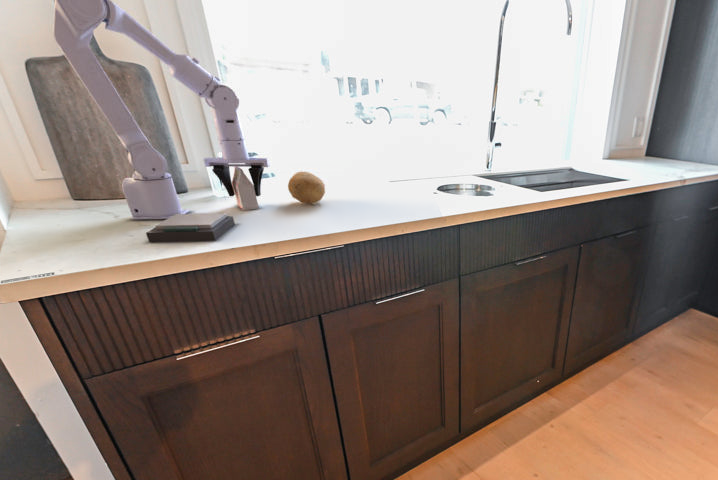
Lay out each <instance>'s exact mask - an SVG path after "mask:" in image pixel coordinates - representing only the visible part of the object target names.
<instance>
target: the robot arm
mask: <svg viewBox="0 0 718 480" xmlns="http://www.w3.org/2000/svg"><path fill="white" fill-rule="evenodd" d="M101 23H105V26H104V29H105V30H108V31H111V32H115V33H119V34H122V35H125V36H127V37H128V38H129V39H130V40H131V41H133V42H135V43H136V44H137V45H139V46H140V47H142V48H143V49H144V50H146V51H147V52H149V53H150V54H151V55H153V56H154V57H155V58H157V59H158V60H160V61H161V62H162V63H164V64H165V65H166V66H167V67H168V69H169V72H170V75H171V77H172V78H174V79H176V80H177V81H178V82H180V83H181V84H182V85H184V86H185V87H186V88H187V89H189V90H190V91H192V92H193V93H194V94H196V96H198V97H200V98H204V101H205V103H206V104H207V105H208V107H210V110H211V115H212V117H213V124H214V127H215V131H216V135H217V139H218V143H219V147H220V150H221V151H220V152H221V154H222V156H221V157H204V158H203V162H204V166H205V167H206V168H209V167H212V170H211V171H212V172H213V174H214V175H215V176H216V177H217V179H219V181H220V182H221V184H222V185H223V186H224V188H225V190H226V192H227V194H228V196H229V197H234V196H235V193H234V189H233V185H232V178H231V171H230V167H232V168H233V167H234V168H235V167H239V168H241V167H246V168H248V172H249V176H250V178H251V181H252V184H253V185H254V190H255V194H256V197H260V196H261V195H262V193H261V186H262V178H263V174H264V170H265V168H269V167H271V165H270V160H269V158H265V157H250V156H249V152H248V148H247V144H246V139H245V134H244V131H243V126H242V121H241V119H240V115H239V111H238V108H239V107H240V98H238V96H237V95H236V93H235V91H234V90H233V89H232V88H231V87H229V86H227V85H224V84H220V83H221V79H220V77H218V76H214V75H213V74H211V73H210V72H209V71H208V70H206V69H205V68H204V67H202V66H201V65H200V61H199V60H198V59H197V58H195V57H190V56H189V55H188V54H177V53H176V52H174V51H173V50H172V49H171V48H170V47H168V46H167V45H166V44H165V43H163V41H162V40H160V39H159V38H158V37H157V36H156V35H154V34H153V33H152V32H151V31H150V30H148V29H147V28H146V27H145V26H143V25H142V24H141V23H140V22H139V21H137V20H136V19H135V18H134V17H133V16H131V15H130V14H129V13H127V12H126V11H125V10H124V9H123V8H122V7H120V6H119V5H117V4H116V3H114V2H113V0H54V17H53V39H54V41H55V43H56V45H57V46H58V47H59V49H60V51H61V52H62V54H63V55H64V57H65V58H66V60H67V61H68V63H69V65H70V66H71V67H72V69H73V70H74V72H75V74H76V75H77V76H78V78H79V80H80V82H81V83H82V84H83V86H84V87H85V88H86V90H87V92H88V94H89V95H90V96H91V98H92V99H93V101H94V103H95V104H96V105H97V107H98V109H99V111H100V112H101V113H102V115H103V116H104V117H105V119H106V121H107V122H108V124H109V125H110V127H111V128H112V130H113V131H114V134H116V136H117V138H118V139H119V141H120V143H121V144H122V145H123V147H124V148H125V152H126V159H127V161H128V163H129V165H130V166H131V167H132V168H133V169H134V172H133V174H132V175H131V177H126V178H124V179H123V180H122V183H121V186H122V187H121V188H122V193H123V195H124V199H125V201H126V203H127V206H128V208H129V212H130V215H131V217H130V219H131V220H167V219H168V218H170V217H172V216H174V215H176V214H189V212H191V211H190V209H182V208H183V207H182V206H181V203H180V199H179V196H178V193H177V190H176V186H175V183H174V181H173V177H172V175H171V173H168V172H167V171H168V162H167V160H166V158H165V157H164V155H163V154H162V153H161V152H159V151H157V150H156V149H155V148H154V147H153V146H152V144H151V143H150V141H149V140H148V138H147V137H146V136H145V134H144V133H143V131H142V130H141V128H140V126H139V125H138V123H137V121H136V120H135V118H134V117H133V115H132V114H131V112H130V110H129V108H128V107H127V106H126V104H125V101H123V99H122V97H121V96H120V94H119V93H118V91H117V89H116V88H115V86H114V84H113V83H112V81H111V79H110V78H109V76H108V75H107V73H106V72H105V70H104V68H103V67H102V65H101V63H100V62H99V60H98V58H97V57H96V56H95V54H94V52H93V50H92V49H91V47H90V44H91V40H92V37H93V35H94V30H96V29H97V28H98V27H99V25H101Z"/></svg>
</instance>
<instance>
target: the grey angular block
mask: <svg viewBox="0 0 718 480" xmlns="http://www.w3.org/2000/svg"><path fill="white" fill-rule="evenodd" d="M231 182H232V186H233V189H234V193H235V195H234V196H235V200H236V204H237V206H238V207H239V208H240V209H241V210H242V211H248V210H249V211H250V210H257V209H258V210H259V209H260V208H259V207H260V206H259V203H258V199H257V196H256V194H255V190H254V185H253V182H251V180H250V179H249V178H248V176H247V175H246V174H245V172H244V170H243V169H242V168H241V167H234V171H233V176H232V179H231Z"/></svg>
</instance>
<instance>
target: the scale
mask: <svg viewBox="0 0 718 480" xmlns="http://www.w3.org/2000/svg"><path fill="white" fill-rule="evenodd" d="M235 225H236V224H235V220H234V216H233V215H227V213H223V212H221V213H220V212H219V213H217V212H216V213H213V212H211V213H186V214H176V215H174V216H172V217H170V218H168V219H164V220H163V221H161V222H159V223H157V224H156V225H155V227H154V228H152V229H149V230H148V231H146V232H145V234H146V238H147V240H148V242H149V243H179V242H180V243H181V242H215V241H217V240H218V239H219V238H221V237H222V236H223V235H224V234H225V233H227V232H228V231H229V230H230V229H232V228H233V227H234V226H235Z"/></svg>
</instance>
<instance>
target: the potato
mask: <svg viewBox="0 0 718 480" xmlns="http://www.w3.org/2000/svg"><path fill="white" fill-rule="evenodd" d="M287 190H288V192H289V194H290V195H291V197H292V198H293V199H295V200H297V201H299V202H300V203H301V204H312V205H314V204H316V203H318V202H320V201H321V200H323V197H324V196H325V194H326V185H325V183H324V181H323V180H322V179H321V178H320V177H318V176H316V175H315V174H314V173H311V172H308V171H297V172H296V173H294V174H293V175H292V176H291V177H290V179H289V181H288V184H287Z"/></svg>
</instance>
